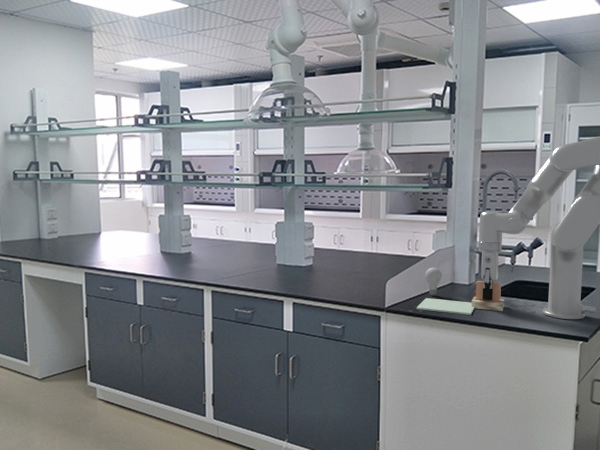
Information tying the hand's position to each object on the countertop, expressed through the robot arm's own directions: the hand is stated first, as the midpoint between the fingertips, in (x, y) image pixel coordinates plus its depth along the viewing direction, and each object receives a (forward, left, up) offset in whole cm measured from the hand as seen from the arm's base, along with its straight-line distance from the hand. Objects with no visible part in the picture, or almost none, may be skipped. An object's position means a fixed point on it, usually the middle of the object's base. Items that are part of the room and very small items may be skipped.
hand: (488, 297), depth 188 cm
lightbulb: (+21, -10, -4) cm, 24 cm away
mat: (+13, +6, -3) cm, 15 cm away
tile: (0, 0, -3) cm, 3 cm away
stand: (0, 0, -3) cm, 3 cm away
